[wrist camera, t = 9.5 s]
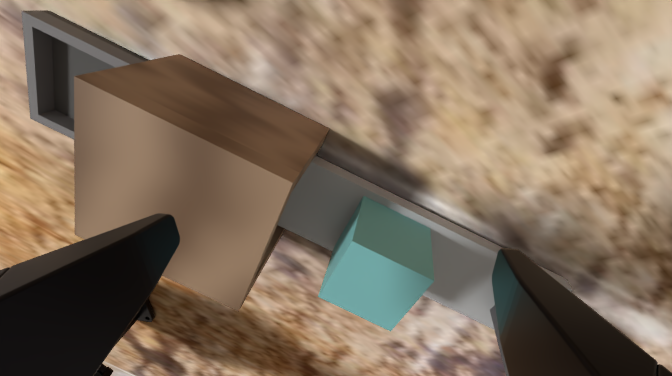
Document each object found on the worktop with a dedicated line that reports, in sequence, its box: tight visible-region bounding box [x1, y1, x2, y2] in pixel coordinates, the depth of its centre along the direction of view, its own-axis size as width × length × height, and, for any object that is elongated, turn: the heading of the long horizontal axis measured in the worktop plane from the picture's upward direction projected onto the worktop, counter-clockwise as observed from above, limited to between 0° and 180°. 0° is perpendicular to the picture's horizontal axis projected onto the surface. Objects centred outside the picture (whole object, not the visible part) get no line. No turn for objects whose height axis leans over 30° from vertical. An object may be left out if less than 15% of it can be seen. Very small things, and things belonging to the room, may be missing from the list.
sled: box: [278, 156, 573, 376], centre depth 20 cm, size 20×6×7 cm, turn 66°
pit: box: [22, 11, 149, 139], centre depth 22 cm, size 7×7×2 cm
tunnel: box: [74, 54, 329, 311], centre depth 19 cm, size 10×9×7 cm
